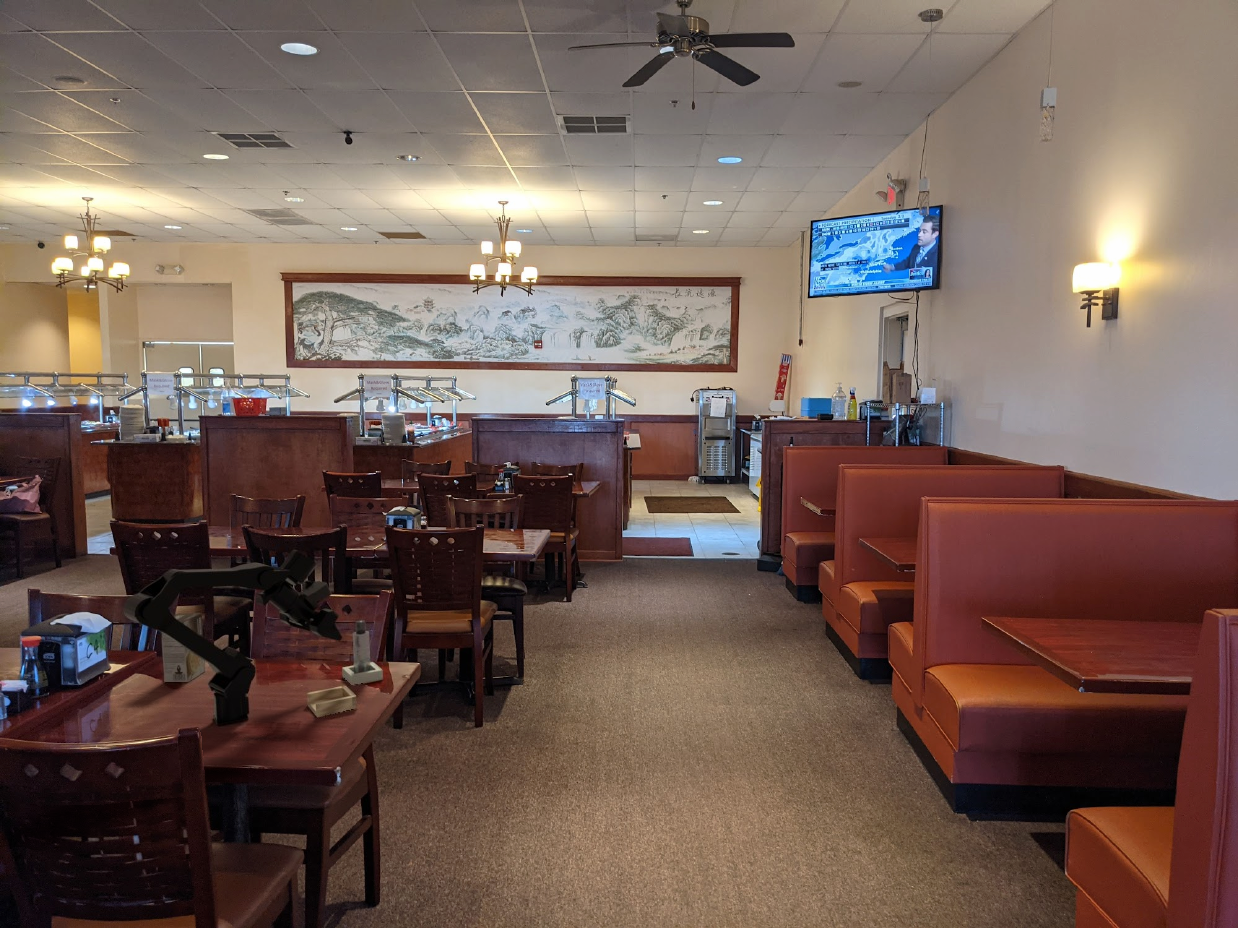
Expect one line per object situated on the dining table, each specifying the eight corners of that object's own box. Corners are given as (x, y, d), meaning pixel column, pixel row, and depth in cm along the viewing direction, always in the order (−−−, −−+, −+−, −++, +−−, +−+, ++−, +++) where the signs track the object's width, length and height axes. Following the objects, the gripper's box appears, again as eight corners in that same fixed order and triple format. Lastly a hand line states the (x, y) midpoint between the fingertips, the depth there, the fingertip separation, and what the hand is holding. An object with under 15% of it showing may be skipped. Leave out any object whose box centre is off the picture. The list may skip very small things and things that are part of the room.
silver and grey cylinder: (357, 681, 217) (354, 624, 215) (352, 677, 220) (350, 620, 219) (372, 678, 219) (370, 621, 218) (368, 674, 222) (365, 618, 221)
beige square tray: (317, 717, 193) (316, 704, 193) (307, 705, 201) (307, 692, 201) (356, 708, 198) (356, 696, 198) (346, 697, 206) (345, 685, 206)
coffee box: (182, 671, 227) (179, 612, 225) (206, 671, 226) (202, 612, 225) (163, 683, 217) (159, 621, 216) (188, 683, 217) (184, 621, 216)
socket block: (351, 685, 214) (351, 675, 214) (342, 676, 221) (342, 667, 220) (382, 679, 218) (382, 669, 218) (373, 670, 225) (372, 661, 225)
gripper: (330, 578, 200) (371, 615, 209) (289, 567, 212) (331, 602, 221) (299, 617, 195) (343, 653, 204) (260, 604, 207) (303, 638, 216)
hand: (330, 635), depth 211 cm, fingers open, 9 cm apart
